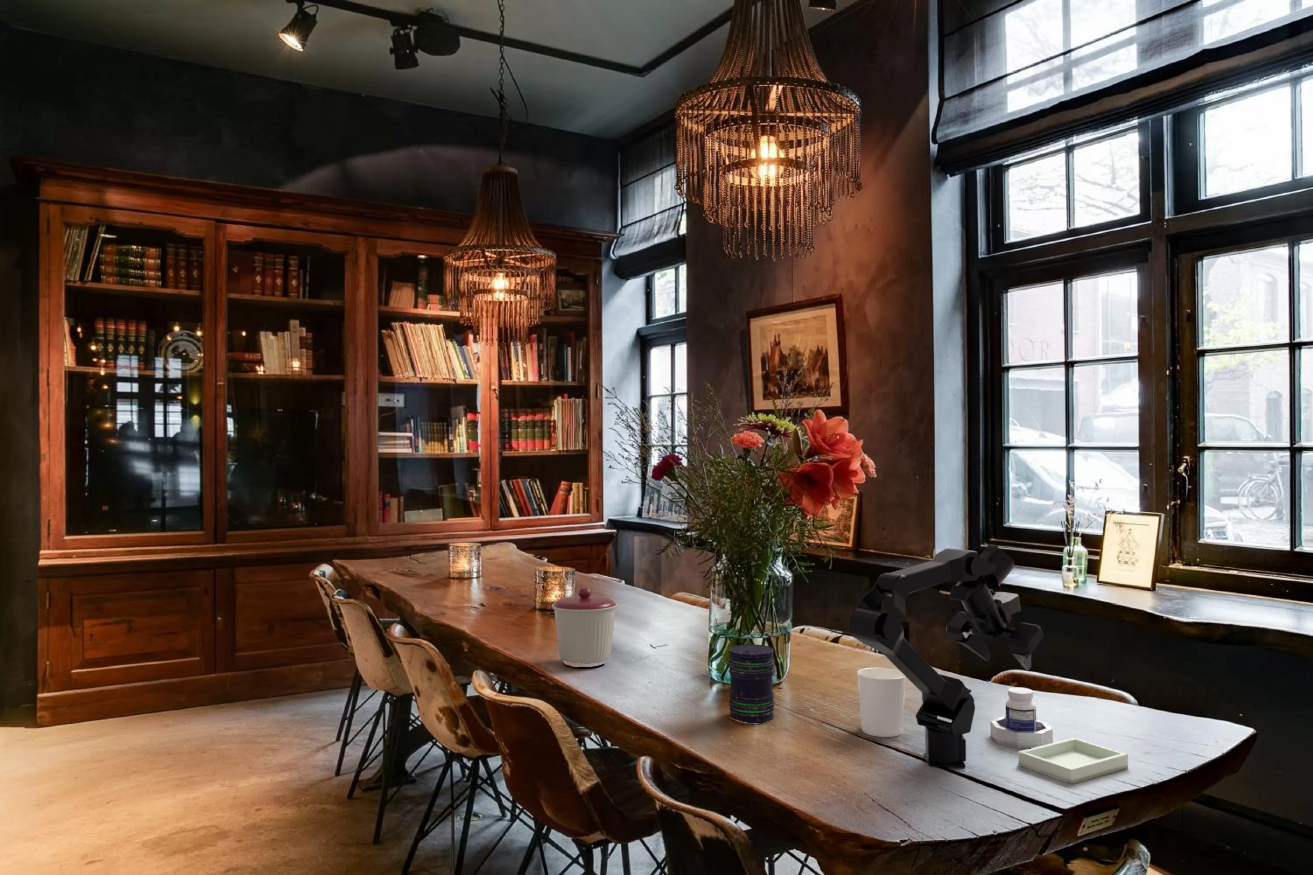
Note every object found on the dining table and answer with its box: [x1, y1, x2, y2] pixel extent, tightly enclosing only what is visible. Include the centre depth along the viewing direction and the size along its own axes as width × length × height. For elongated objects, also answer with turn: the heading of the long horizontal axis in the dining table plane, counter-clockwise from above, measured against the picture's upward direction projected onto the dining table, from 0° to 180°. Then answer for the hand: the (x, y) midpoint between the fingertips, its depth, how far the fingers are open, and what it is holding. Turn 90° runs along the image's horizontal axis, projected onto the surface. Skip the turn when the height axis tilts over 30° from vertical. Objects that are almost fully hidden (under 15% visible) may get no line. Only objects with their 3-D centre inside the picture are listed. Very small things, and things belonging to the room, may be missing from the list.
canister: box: [551, 586, 619, 664], centre depth 247 cm, size 18×18×21 cm
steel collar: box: [989, 716, 1054, 749], centre depth 181 cm, size 11×11×3 cm
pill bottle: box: [1005, 686, 1037, 732], centre depth 181 cm, size 6×6×10 cm
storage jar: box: [728, 643, 775, 724], centre depth 197 cm, size 10×10×15 cm
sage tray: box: [1017, 737, 1129, 785], centre depth 165 cm, size 16×11×2 cm
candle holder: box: [856, 667, 907, 738], centre depth 187 cm, size 10×10×12 cm
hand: (1008, 663), depth 179 cm, fingers open, 9 cm apart
